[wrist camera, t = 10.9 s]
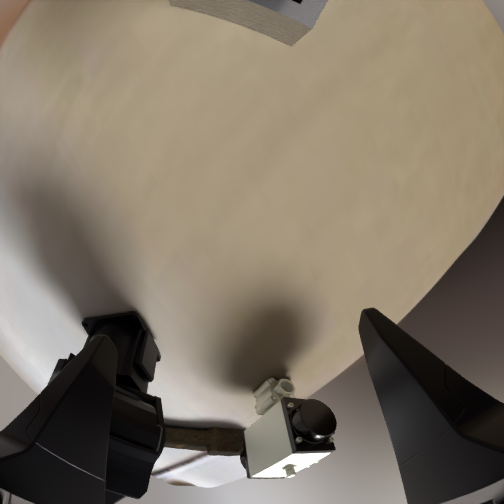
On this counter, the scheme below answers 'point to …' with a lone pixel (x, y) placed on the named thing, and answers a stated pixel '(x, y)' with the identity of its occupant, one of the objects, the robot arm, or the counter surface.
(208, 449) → the hand tool
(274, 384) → the pneumatic valve
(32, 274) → the counter surface
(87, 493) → the robot arm
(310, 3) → the block with rectangular hole
